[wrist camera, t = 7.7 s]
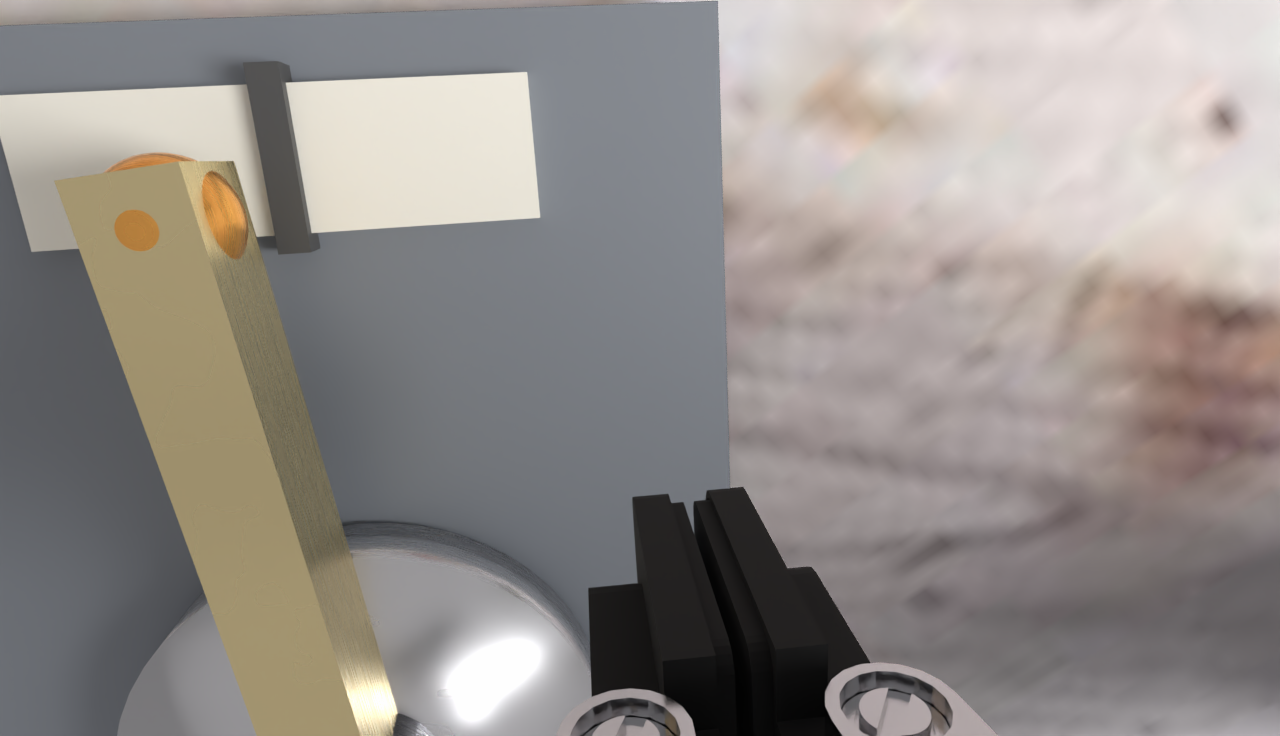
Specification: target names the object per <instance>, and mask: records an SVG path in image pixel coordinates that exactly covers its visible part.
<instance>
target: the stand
mask: <svg viewBox="0 0 1280 736" xmlns="http://www.w3.org/2000/svg"><path fill="white" fill-rule="evenodd" d="M154 152H163V153H172V154H178V155H183V156H186V157H189V158H192V159H195V160H197V161H234V163H235V166H236V169H237V173H238V176H239V179H240V183H241V186H242V190H243V193H244V196H245V200H246V203H247V206H248V210H249V213H250V216H251V220H252V223H253V227H254V230H255V233H256V237H257V240H258V243H259V247H260V250H261V254H262V257H263V260H264V264H265V267H266V270H267V274H268V277H269V281H270V284H271V287H272V291H273V294H274V297H275V301H276V304H277V307H278V311H279V314H280V318H281V321H282V324H283V328H284V331H285V334H286V338H287V341H288V345H289V348H290V351H291V355H292V358H293V361H294V365H295V368H296V371H297V375H298V378H299V382H300V385H301V388H302V392H303V395H304V398H305V402H306V405H307V409H308V412H309V415H310V419H311V422H312V425H313V429H314V432H315V436H316V439H317V442H318V446H319V449H320V452H321V456H322V459H323V462H324V466H325V469H326V473H327V476H328V479H329V483H330V486H331V489H332V493H333V496H334V500H335V503H336V506H337V510H338V513H339V516H340V520H341V523H342V526H346V525H353V524H368V523H397V524H408V525H419V526H425V527H430V528H435V529H440V530H444V531H449V532H453V533H456V534H459V535H462V536H465V537H468V538H471V539H474V540H477V541H480V542H482V543H484V544H486V545H488V546H490V547H492V548H495V549H497V550H499V551H501V552H503V553H505V554H507V555H508V556H510V557H512V558H513V559H515V560H516V561H518V562H519V563H521V564H522V565H524V566H525V567H527V568H529V569H530V570H531V571H532V572H534V573H535V574H536V575H537V576H538V577H539V578H541V579H542V580H543V581H544V582H545V583H546V584H548V585H549V586H550V587H551V588H552V589H553V590H554V591H555V593H556V594H557V595H558V596H559V597H560V598H561V599H562V601H563V602H564V603H565V604H566V605H567V606H568V608H569V609H570V611H571V612H572V614H573V615H574V617H575V618H576V620H577V621H578V623H579V624H580V626H581V627H582V630H583V632H584V634H585V636H586V638H587V641H588V643H589V645H590V631H589V600H588V588H592V587H602V586H612V585H623V584H633V583H637V568H636V553H635V537H634V522H633V506H632V497H636V496H648V495H659V494H669V497H670V501H671V503H677V502H683V503H684V505H685V508H686V511H687V514H688V517H689V520H690V523H691V526H692V529H693V532H694V516H693V504H694V501H700V500H706V492H707V490H716V489H727V488H730V468H729V428H728V388H727V348H726V309H725V269H724V229H723V189H722V149H721V110H720V70H719V30H718V1H698V2H669V3H640V4H612V5H583V6H554V7H525V8H496V9H467V10H438V11H410V12H381V13H352V14H323V15H294V16H265V17H236V18H208V19H179V20H150V21H121V22H92V23H63V24H34V25H5V26H0V736H117V733H118V727H119V722H120V718H121V715H122V712H123V710H124V707H125V704H126V701H127V699H128V696H129V693H130V691H131V689H132V688H133V686H134V684H135V682H136V680H137V679H138V677H139V675H140V673H141V671H142V670H143V668H144V666H145V665H146V664H147V662H148V661H149V660H150V658H151V657H152V656H153V655H154V653H155V652H156V651H157V649H158V648H159V647H160V645H161V644H162V643H163V641H164V640H165V639H166V638H167V636H168V635H169V634H170V632H171V631H172V630H173V628H174V627H175V626H176V624H177V623H178V622H179V621H180V619H181V618H182V617H183V615H184V614H185V613H186V612H187V610H188V609H189V608H190V606H191V605H192V604H193V603H194V601H195V600H196V599H197V598H198V597H199V596H200V595H201V594H202V593H203V592H204V590H203V587H202V585H201V582H200V579H199V576H198V574H197V571H196V568H195V565H194V563H193V560H192V557H191V554H190V552H189V549H188V546H187V543H186V541H185V538H184V535H183V533H182V530H181V527H180V524H179V522H178V519H177V516H176V513H175V511H174V508H173V505H172V502H171V500H170V497H169V494H168V491H167V489H166V486H165V483H164V480H163V478H162V475H161V472H160V470H159V467H158V464H157V461H156V459H155V456H154V453H153V450H152V448H151V445H150V442H149V439H148V437H147V434H146V431H145V428H144V426H143V423H142V420H141V418H140V415H139V412H138V409H137V407H136V404H135V401H134V398H133V396H132V393H131V390H130V387H129V385H128V382H127V379H126V376H125V374H124V371H123V368H122V365H121V363H120V360H119V357H118V355H117V352H116V349H115V346H114V344H113V341H112V338H111V335H110V333H109V330H108V327H107V324H106V322H105V319H104V316H103V313H102V311H101V308H100V305H99V303H98V300H97V297H96V294H95V292H94V289H93V286H92V283H91V281H90V278H89V275H88V272H87V270H86V267H85V264H84V261H83V259H82V256H81V253H80V251H79V248H78V245H77V242H76V240H75V237H74V234H73V231H72V229H71V226H70V223H69V220H68V218H67V215H66V212H65V209H64V207H63V204H62V201H61V198H60V196H59V193H58V190H57V188H56V185H55V182H54V181H55V180H61V179H68V178H74V177H81V176H87V175H94V174H100V173H103V172H104V171H105V170H107V169H108V168H109V167H111V166H112V165H114V164H116V163H117V162H119V161H121V160H123V159H126V158H128V157H131V156H134V155H139V154H144V153H154Z"/></svg>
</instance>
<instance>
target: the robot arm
mask: <svg viewBox="0 0 1280 736" xmlns="http://www.w3.org/2000/svg"><path fill="white" fill-rule="evenodd" d="M632 506H633V522H634V537H635V553H636V568H637V583H633V584H623V585H612V586H602V587H592V588H588V600H589V631H590V662H591V693H592V697H590V698H589V699H587V700H585V701H584V702H582V703H581V704H579V705H577V706H576V707H574V708H573V709H572V711H571V712H570V713H569V714H568V715H567V716H566V717H565V718H564V719H563V720H562V722H561V724H560V727H559V729H558V731H557V733H556V736H998V735H997V734H996V733H995V732H994V731H993V729H992V728H991V727H990V726H989V725H988V724H987V723H986V722H985V721H984V720H983V719H982V718H981V717H980V716H979V715H978V714H977V713H976V712H975V711H974V710H973V709H972V708H971V707H970V706H969V705H968V704H967V703H966V702H965V701H964V700H963V699H962V698H961V697H960V696H959V695H958V694H957V693H956V692H955V691H954V690H953V689H951V688H950V687H949V686H948V685H946V684H945V683H944V682H943V681H941V680H940V679H938V678H936V677H934V676H932V675H930V674H928V673H926V672H924V671H922V670H919V669H915V668H912V667H908V666H905V665H901V664H892V663H882V662H877V663H870V661H869V660H868V658H867V656H866V655H865V653H864V651H863V650H862V648H861V646H860V645H859V643H858V641H857V640H856V638H855V637H854V635H853V633H852V632H851V630H850V628H849V627H848V625H847V623H846V622H845V620H844V618H843V617H842V615H841V613H840V612H839V610H838V608H837V607H836V605H835V603H834V602H833V600H832V598H831V597H830V595H829V593H828V592H827V590H826V588H825V587H824V585H823V584H822V582H821V580H820V579H819V577H818V575H817V574H816V572H815V571H814V570H813V568H812V567H800V568H789V569H787V567H786V565H785V563H784V561H783V559H782V558H781V556H780V554H779V552H778V550H777V548H776V546H775V545H774V543H773V541H772V539H771V537H770V535H769V533H768V532H767V530H766V528H765V526H764V524H763V522H762V520H761V519H760V517H759V515H758V513H757V511H756V509H755V507H754V506H753V504H752V502H751V500H750V498H749V496H748V494H747V493H746V491H745V489H744V488H743V487H738V488H727V489H716V490H707V492H706V500H700V501H694V504H693V516H694V532H693V529H692V526H691V523H690V520H689V517H688V514H687V511H686V508H685V505H684V503H683V502H677V503H671V501H670V497H669V494H659V495H648V496H636V497H632Z"/></svg>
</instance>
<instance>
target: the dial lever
mask: <svg viewBox="0 0 1280 736" xmlns="http://www.w3.org/2000/svg"><path fill="white" fill-rule="evenodd" d="M54 182H55V185H56V188H57V190H58V193H59V196H60V198H61V201H62V204H63V207H64V209H65V212H66V215H67V218H68V220H69V223H70V226H71V229H72V231H73V234H74V237H75V240H76V242H77V245H78V248H79V251H80V253H81V256H82V259H83V261H84V264H85V267H86V270H87V272H88V275H89V278H90V281H91V283H92V286H93V289H94V292H95V294H96V297H97V300H98V303H99V305H100V308H101V311H102V313H103V316H104V319H105V322H106V324H107V327H108V330H109V333H110V335H111V338H112V341H113V344H114V346H115V349H116V352H117V355H118V357H119V360H120V363H121V365H122V368H123V371H124V374H125V376H126V379H127V382H128V385H129V387H130V390H131V393H132V396H133V398H134V401H135V404H136V407H137V409H138V412H139V415H140V418H141V420H142V423H143V426H144V428H145V431H146V434H147V437H148V439H149V442H150V445H151V448H152V450H153V453H154V456H155V459H156V461H157V464H158V467H159V470H160V472H161V475H162V478H163V480H164V483H165V486H166V489H167V491H168V494H169V497H170V500H171V502H172V505H173V508H174V511H175V513H176V516H177V519H178V522H179V524H180V527H181V530H182V533H183V535H184V538H185V541H186V543H187V546H188V549H189V552H190V554H191V557H192V560H193V563H194V565H195V568H196V571H197V574H198V576H199V579H200V582H201V585H202V587H203V590H204V592H203V593H202V594H201V595H200V596H199V597H198V598H197V599H196V600H195V601H194V603H193V604H192V605H191V606H190V608H189V609H188V610H187V612H186V613H185V614H184V615H183V617H182V618H181V619H180V621H179V622H178V623H177V624H176V626H175V627H174V628H173V630H172V631H171V632H170V634H169V635H168V636H167V638H166V639H165V640H164V641H163V643H162V644H161V645H160V647H159V648H158V649H157V651H156V652H155V653H154V655H153V656H152V657H151V658H150V660H149V661H148V662H147V664H146V665H145V666H144V668H143V670H142V671H141V673H140V675H139V677H138V679H137V680H136V682H135V684H134V686H133V688H132V689H131V691H130V693H129V696H128V699H127V701H126V704H125V707H124V710H123V712H122V715H121V718H120V722H119V727H118V733H117V736H556V733H557V731H558V729H559V727H560V724H561V722H562V720H563V719H564V718H565V717H566V716H567V715H568V714H569V713H570V712H571V711H572V709H573V708H574V707H576V706H577V705H579V704H581V703H582V702H584V701H585V700H587V699H589V698H590V697H592V693H591V662H590V645H589V643H588V641H587V638H586V636H585V634H584V632H583V630H582V627H581V626H580V624H579V623H578V621H577V620H576V618H575V617H574V615H573V614H572V612H571V611H570V609H569V608H568V606H567V605H566V604H565V603H564V602H563V601H562V599H561V598H560V597H559V596H558V595H557V594H556V593H555V591H554V590H553V589H552V588H551V587H550V586H549V585H548V584H546V583H545V582H544V581H543V580H542V579H541V578H539V577H538V576H537V575H536V574H535V573H534V572H532V571H531V570H530V569H529V568H527V567H525V566H524V565H522V564H521V563H519V562H518V561H516V560H515V559H513V558H512V557H510V556H508V555H507V554H505V553H503V552H501V551H499V550H497V549H495V548H492V547H490V546H488V545H486V544H484V543H482V542H480V541H477V540H474V539H471V538H468V537H465V536H462V535H459V534H456V533H453V532H449V531H444V530H440V529H435V528H430V527H425V526H419V525H408V524H397V523H368V524H353V525H346V526H342V523H341V520H340V516H339V513H338V510H337V506H336V503H335V500H334V496H333V493H332V489H331V486H330V483H329V479H328V476H327V473H326V469H325V466H324V462H323V459H322V456H321V452H320V449H319V446H318V442H317V439H316V436H315V432H314V429H313V425H312V422H311V419H310V415H309V412H308V409H307V405H306V402H305V398H304V395H303V392H302V388H301V385H300V382H299V378H298V375H297V371H296V368H295V365H294V361H293V358H292V355H291V351H290V348H289V345H288V341H287V338H286V334H285V331H284V328H283V324H282V321H281V318H280V314H279V311H278V307H277V304H276V301H275V297H274V294H273V291H272V287H271V284H270V281H269V277H268V274H267V270H266V267H265V264H264V260H263V257H262V254H261V250H260V247H259V243H258V240H257V237H256V233H255V230H254V227H253V223H252V220H251V216H250V213H249V210H248V206H247V203H246V200H245V196H244V193H243V190H242V186H241V183H240V179H239V176H238V173H237V169H236V166H235V163H234V161H197V160H195V159H192V158H189V157H186V156H183V155H178V154H172V153H163V152H154V153H144V154H139V155H134V156H131V157H128V158H126V159H123V160H121V161H119V162H117V163H116V164H114V165H112V166H111V167H109V168H108V169H107V170H105V171H104V172H103V173H100V174H94V175H87V176H81V177H74V178H68V179H61V180H55V181H54Z"/></svg>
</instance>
